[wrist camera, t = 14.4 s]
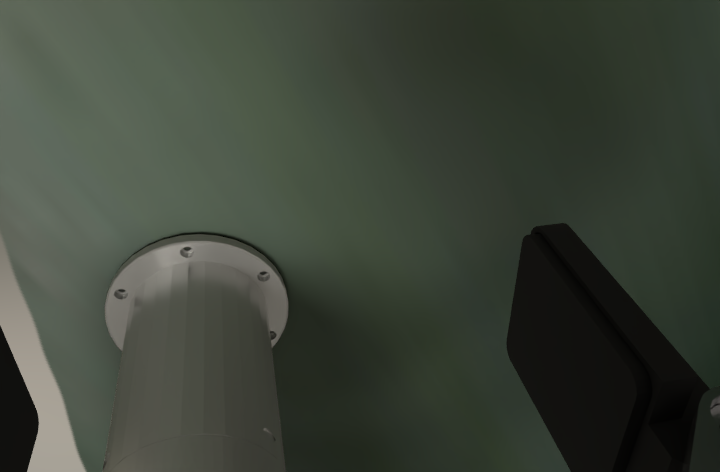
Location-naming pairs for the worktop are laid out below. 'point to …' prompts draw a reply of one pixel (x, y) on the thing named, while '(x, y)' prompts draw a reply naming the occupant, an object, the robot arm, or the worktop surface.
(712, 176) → the worktop surface
